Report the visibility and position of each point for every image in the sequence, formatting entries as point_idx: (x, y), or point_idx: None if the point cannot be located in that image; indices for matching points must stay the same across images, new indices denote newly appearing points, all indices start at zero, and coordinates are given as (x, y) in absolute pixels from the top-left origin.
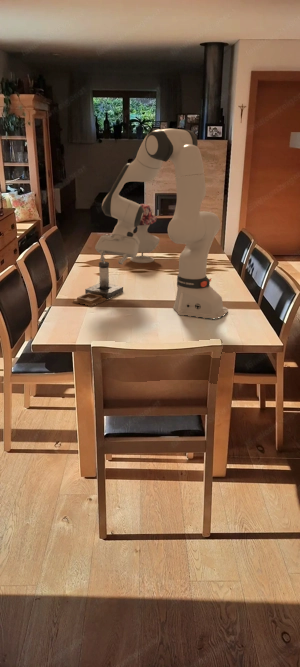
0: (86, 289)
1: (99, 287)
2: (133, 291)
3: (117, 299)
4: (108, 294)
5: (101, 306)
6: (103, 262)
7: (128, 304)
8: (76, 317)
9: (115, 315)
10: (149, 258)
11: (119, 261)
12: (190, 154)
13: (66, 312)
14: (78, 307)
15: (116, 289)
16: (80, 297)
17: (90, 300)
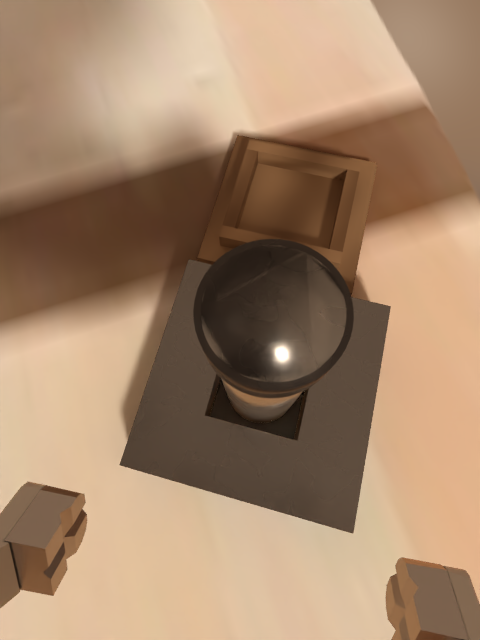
0: (378, 304)
1: (308, 388)
2: None
3: (131, 299)
4: (186, 273)
5: (189, 164)
6: (286, 327)
7: (42, 239)
8: (252, 15)
9: (79, 82)
10: None
11: (50, 496)
12: None
13: (328, 47)
14: (304, 116)
15: (155, 377)
16: (345, 178)
17: (257, 143)
